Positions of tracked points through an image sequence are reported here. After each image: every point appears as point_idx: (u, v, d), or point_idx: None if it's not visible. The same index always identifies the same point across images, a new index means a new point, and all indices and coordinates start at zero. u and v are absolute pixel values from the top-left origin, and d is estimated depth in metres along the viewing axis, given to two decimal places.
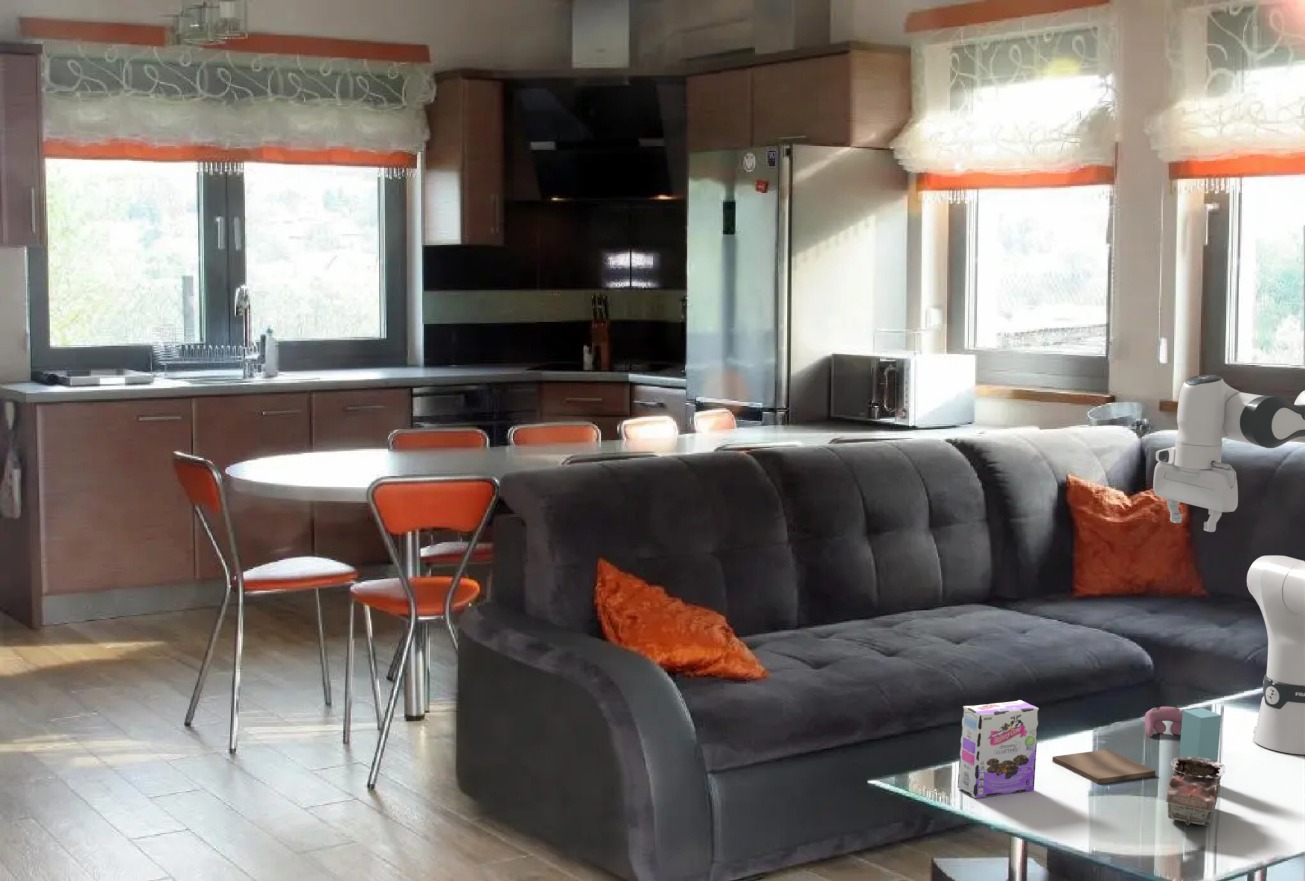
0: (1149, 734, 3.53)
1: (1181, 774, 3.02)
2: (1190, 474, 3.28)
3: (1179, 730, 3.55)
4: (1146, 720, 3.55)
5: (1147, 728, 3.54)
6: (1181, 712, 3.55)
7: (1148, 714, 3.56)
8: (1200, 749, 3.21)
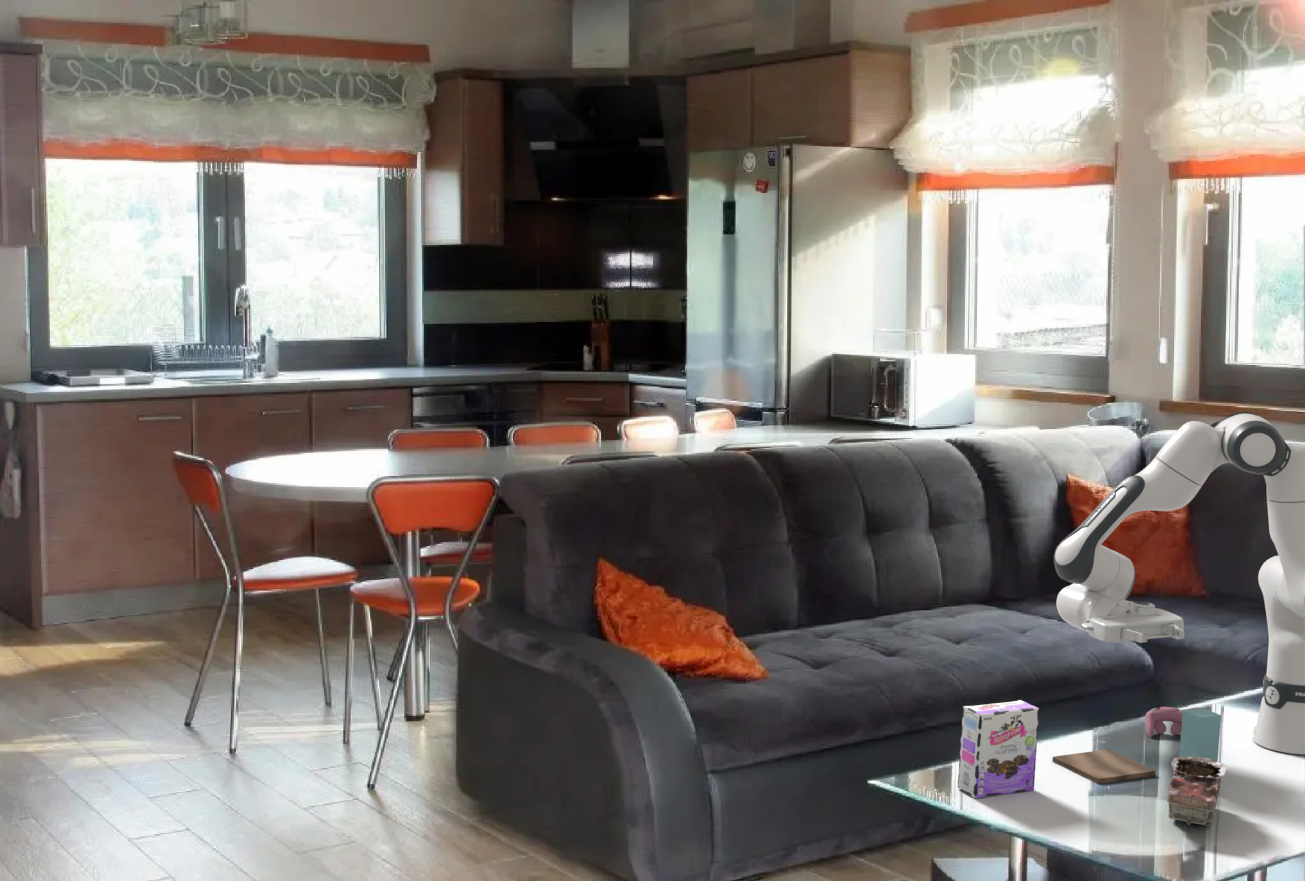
0: (1149, 734, 3.53)
1: (1182, 774, 3.02)
2: None
3: (1179, 730, 3.55)
4: (1146, 720, 3.55)
5: (1147, 728, 3.54)
6: (1181, 712, 3.55)
7: (1148, 714, 3.55)
8: (1200, 749, 3.21)
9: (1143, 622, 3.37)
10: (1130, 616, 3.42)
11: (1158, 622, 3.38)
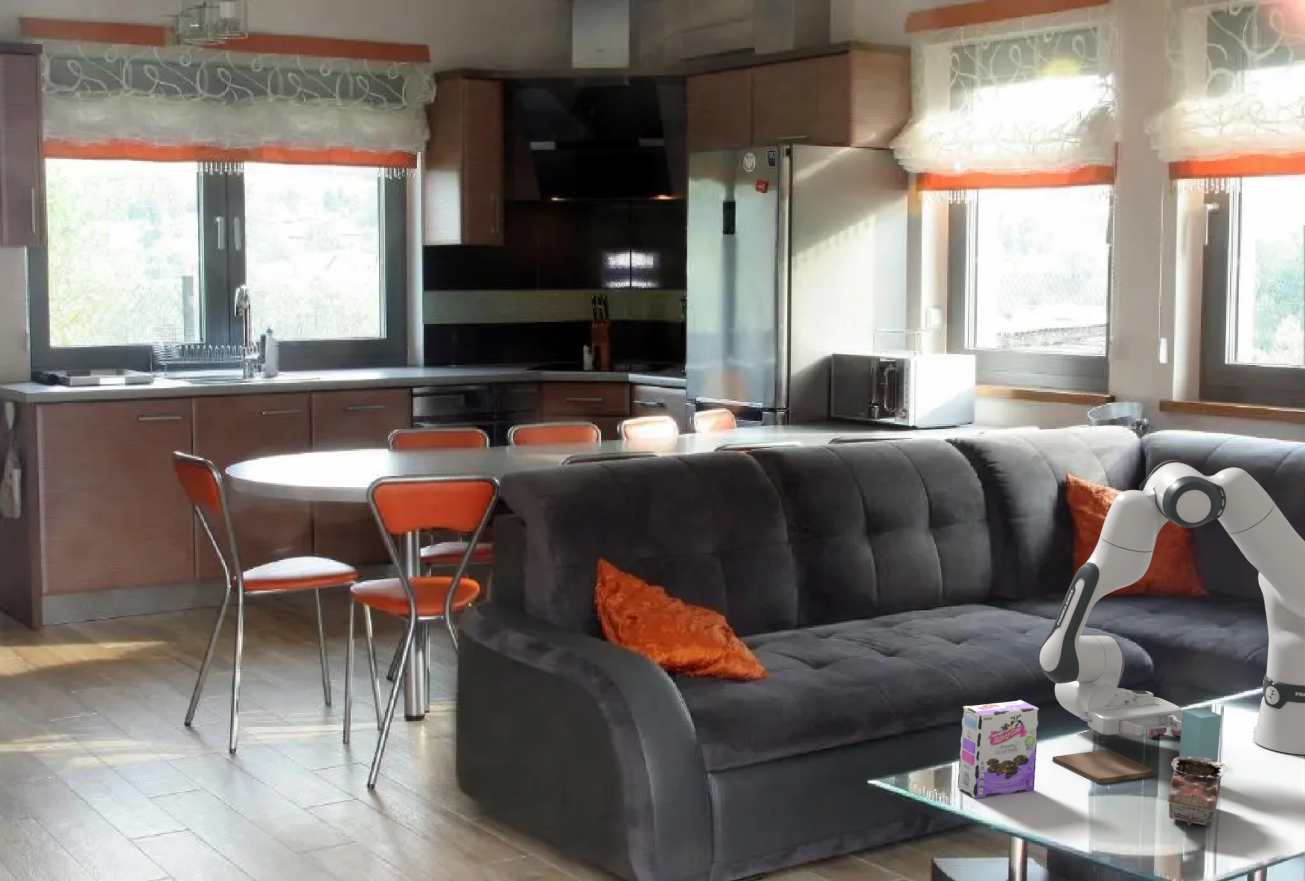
0: (1150, 735, 3.52)
1: (1182, 774, 3.02)
2: None
3: (1180, 731, 3.54)
4: None
5: None
6: (1182, 713, 3.54)
7: None
8: (1200, 749, 3.21)
9: (1141, 713, 3.38)
10: (1129, 706, 3.43)
11: (1156, 713, 3.39)
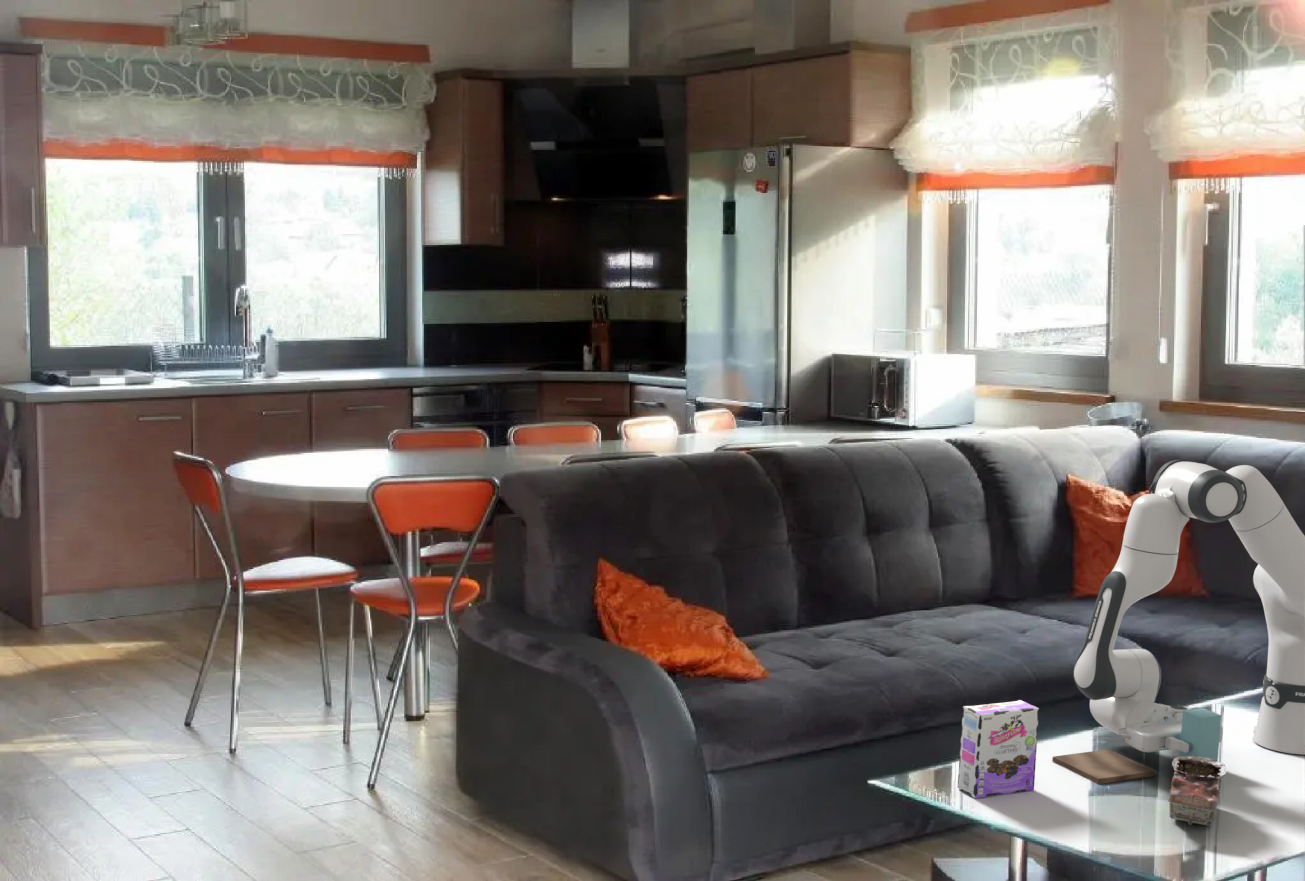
0: None
1: (1183, 774, 3.02)
2: None
3: None
4: None
5: None
6: None
7: None
8: (1200, 749, 3.21)
9: None
10: (1168, 722, 3.33)
11: None
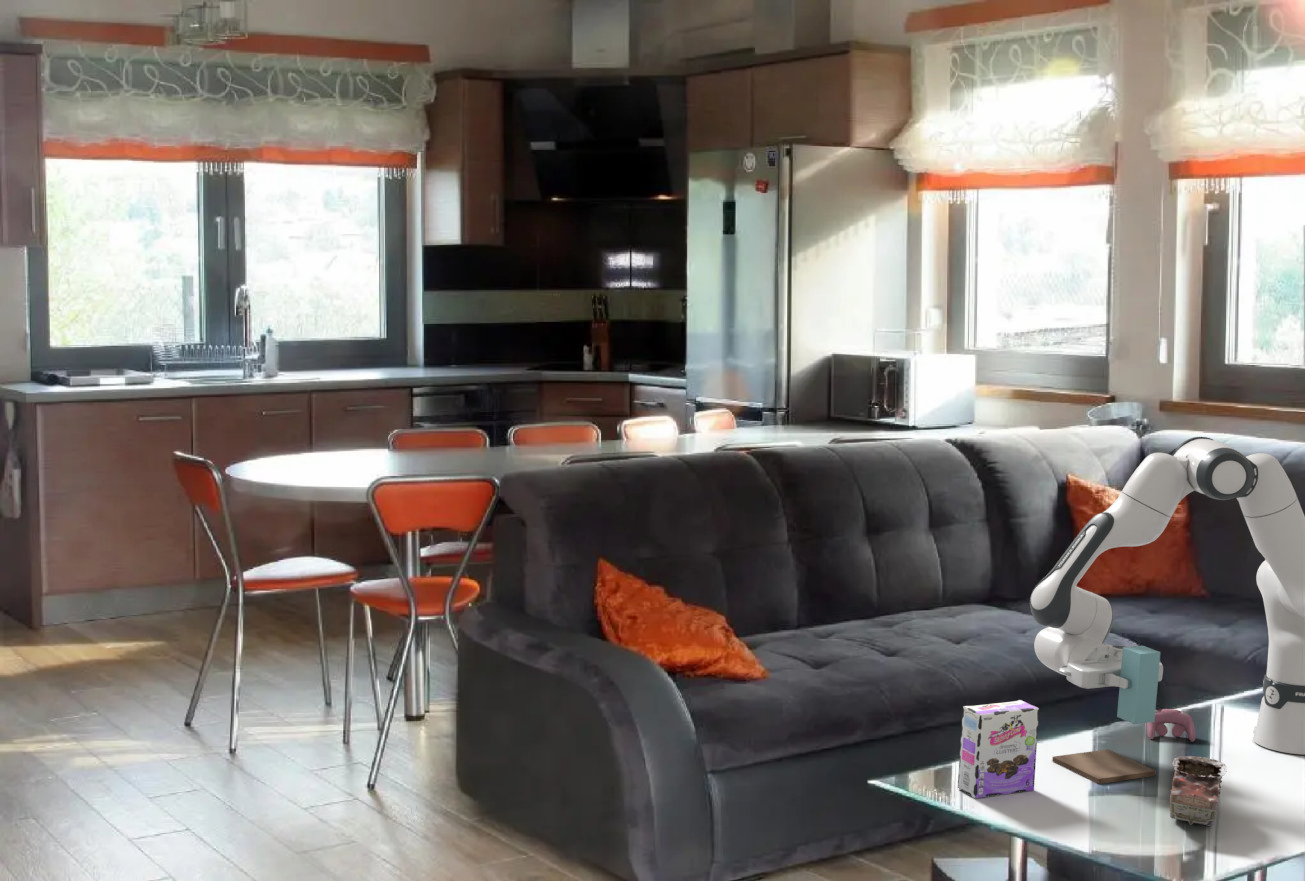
0: (1150, 737, 3.51)
1: (1183, 774, 3.02)
2: None
3: (1181, 732, 3.53)
4: None
5: (1148, 730, 3.52)
6: (1183, 714, 3.53)
7: None
8: (1139, 685, 3.24)
9: None
10: (1108, 661, 3.35)
11: None
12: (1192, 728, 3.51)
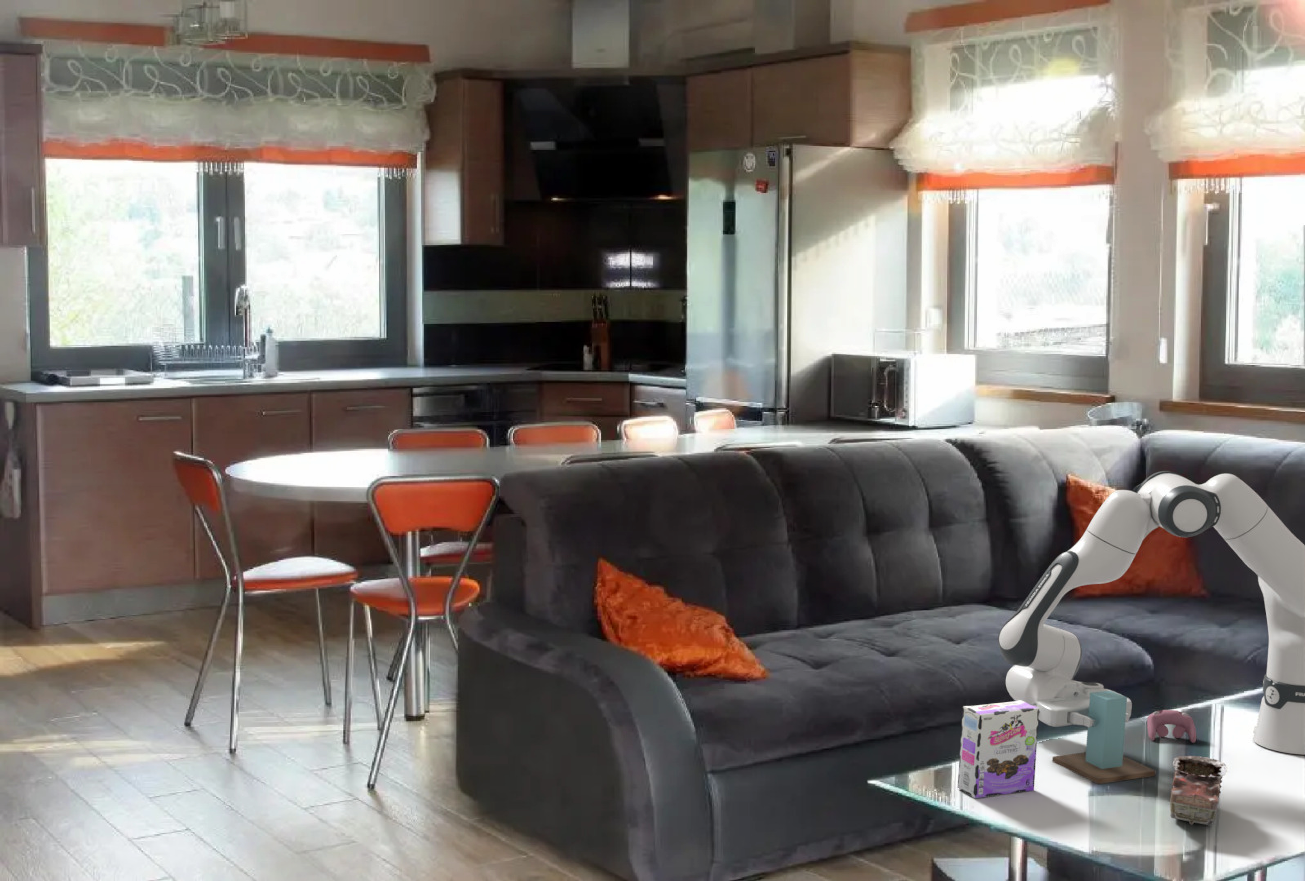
0: (1151, 738, 3.51)
1: (1183, 774, 3.02)
2: None
3: (1181, 734, 3.53)
4: (1148, 724, 3.53)
5: (1149, 732, 3.51)
6: (1183, 715, 3.53)
7: (1150, 718, 3.53)
8: (1106, 731, 3.28)
9: None
10: (1078, 698, 3.39)
11: None
12: (1193, 729, 3.51)
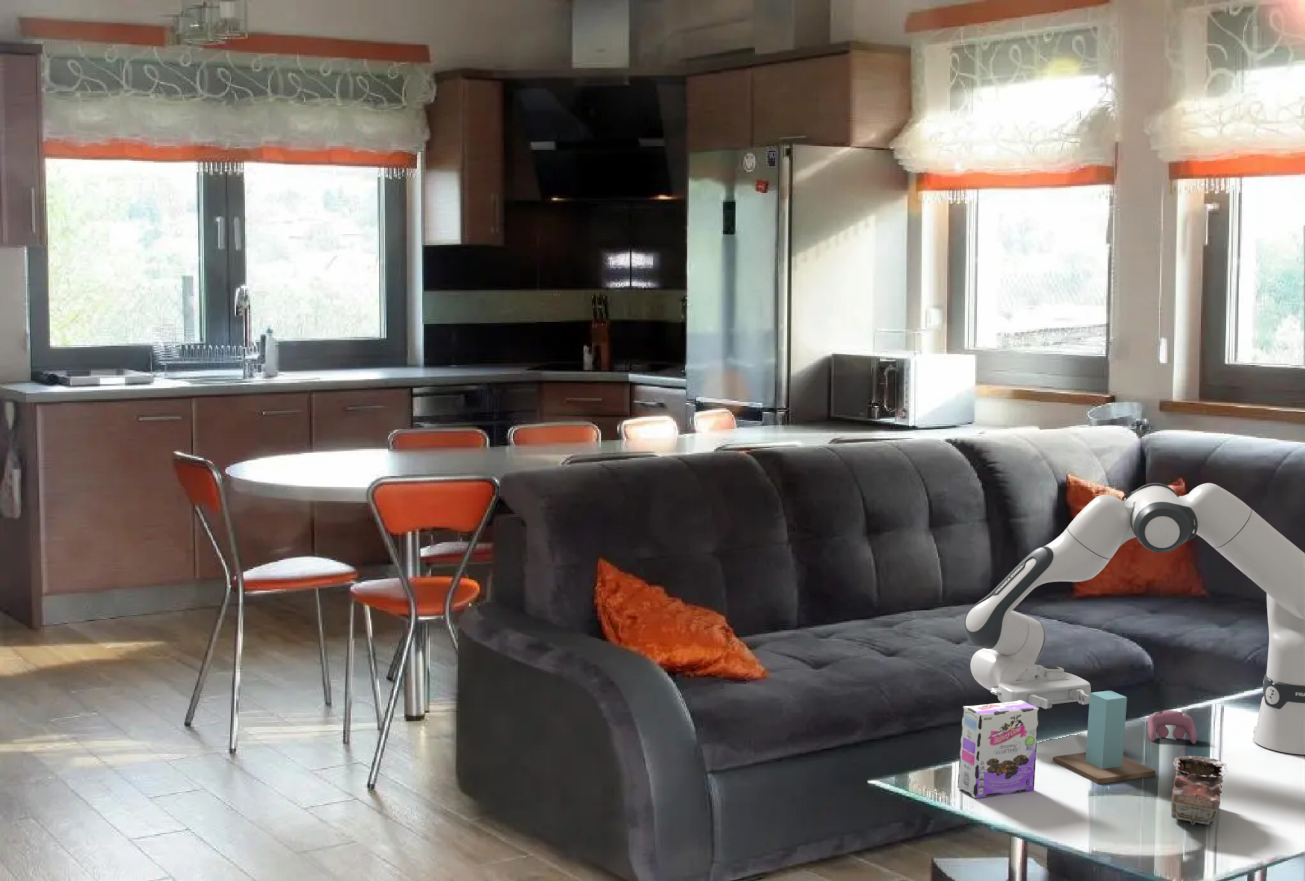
0: (1152, 738, 3.50)
1: (1184, 774, 3.02)
2: None
3: (1182, 734, 3.52)
4: (1149, 724, 3.52)
5: (1150, 732, 3.51)
6: (1184, 716, 3.52)
7: (1151, 718, 3.53)
8: (1106, 731, 3.28)
9: (1050, 688, 3.45)
10: (1038, 681, 3.50)
11: (1065, 687, 3.46)
12: (1193, 730, 3.50)
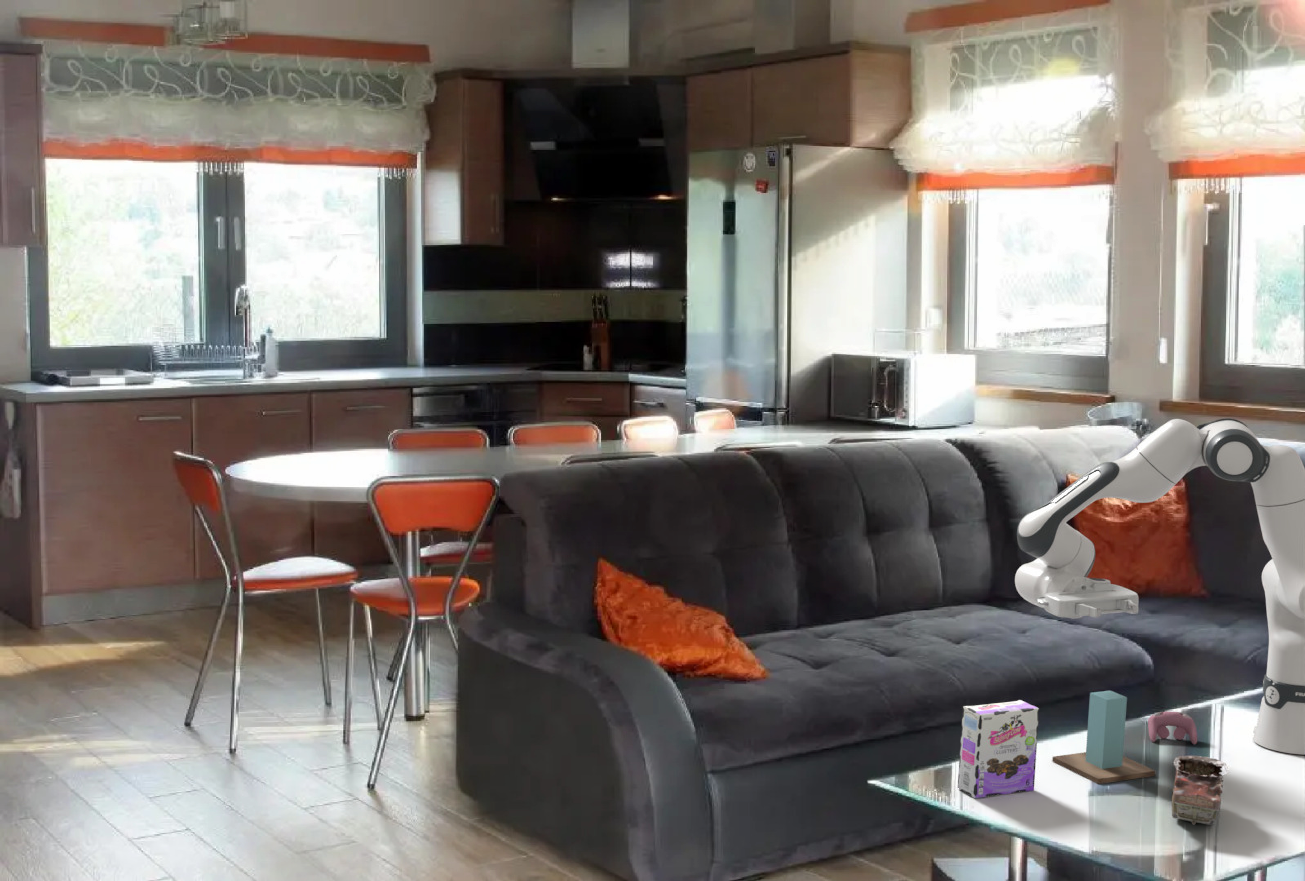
0: (1152, 739, 3.50)
1: (1185, 774, 3.02)
2: None
3: (1183, 735, 3.52)
4: (1149, 725, 3.52)
5: (1150, 733, 3.50)
6: (1184, 717, 3.52)
7: (1151, 719, 3.52)
8: (1106, 731, 3.28)
9: (1098, 597, 3.40)
10: (1085, 592, 3.45)
11: (1113, 597, 3.41)
12: (1194, 731, 3.50)
